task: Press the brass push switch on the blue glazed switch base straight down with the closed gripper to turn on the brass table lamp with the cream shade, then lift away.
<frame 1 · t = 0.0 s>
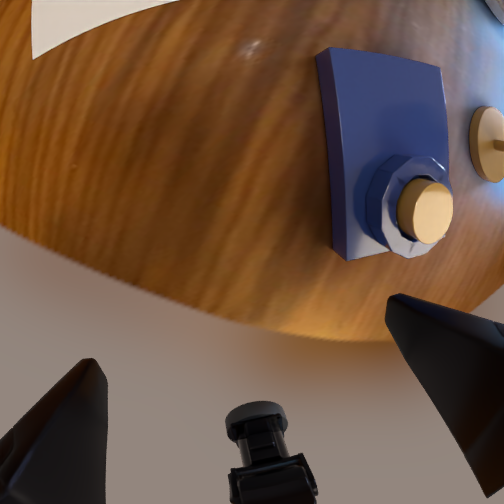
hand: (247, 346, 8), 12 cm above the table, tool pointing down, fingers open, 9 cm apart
lamp switch: (425, 210, 16), point 4 cm above the table, slide at 0.1 cm
switch base: (386, 150, 19), on the table
table lamp: (488, 143, 20), on the table
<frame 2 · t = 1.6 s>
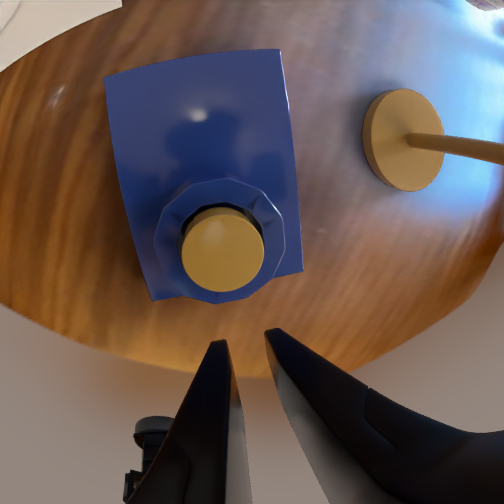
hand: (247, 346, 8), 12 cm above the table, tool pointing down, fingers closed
lamp switch: (221, 249, 15), point 4 cm above the table, slide at 0.1 cm
switch base: (206, 171, 17), on the table
table lamp: (403, 139, 19), on the table
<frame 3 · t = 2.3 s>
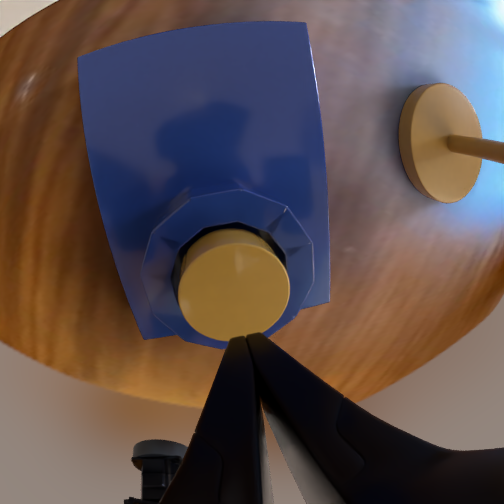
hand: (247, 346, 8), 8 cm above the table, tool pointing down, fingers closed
lamp switch: (232, 285, 11), point 4 cm above the table, slide at 0.1 cm
switch base: (210, 177, 13), on the table
table lamp: (440, 141, 15), on the table
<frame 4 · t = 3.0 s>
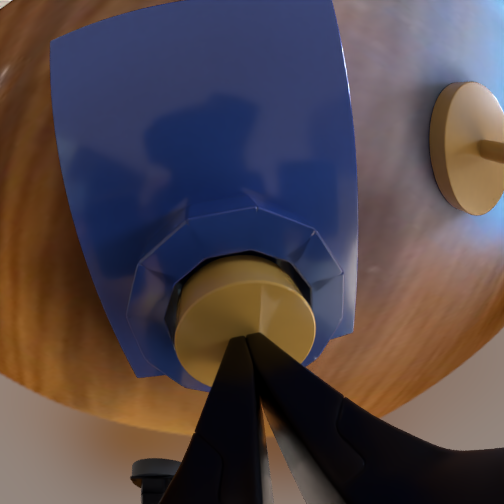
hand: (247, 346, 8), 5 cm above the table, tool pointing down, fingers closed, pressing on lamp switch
lamp switch: (242, 326, 8), point 4 cm above the table, slide at -0.1 cm, touching gripper
switch base: (213, 186, 11), on the table
table lamp: (470, 146, 12), on the table
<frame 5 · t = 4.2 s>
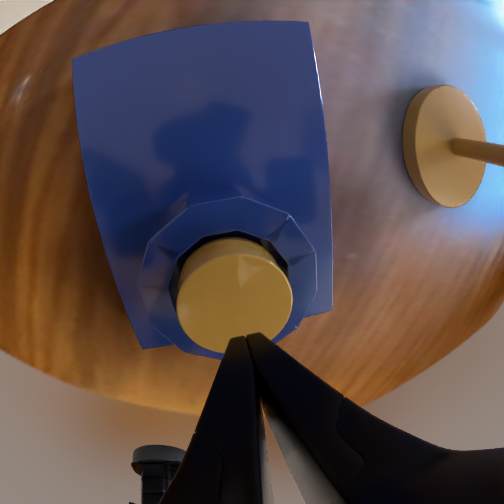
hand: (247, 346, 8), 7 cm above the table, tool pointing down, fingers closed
lamp switch: (232, 296, 10), point 4 cm above the table, slide at 0.1 cm
switch base: (209, 182, 13), on the table
table lamp: (444, 145, 14), on the table
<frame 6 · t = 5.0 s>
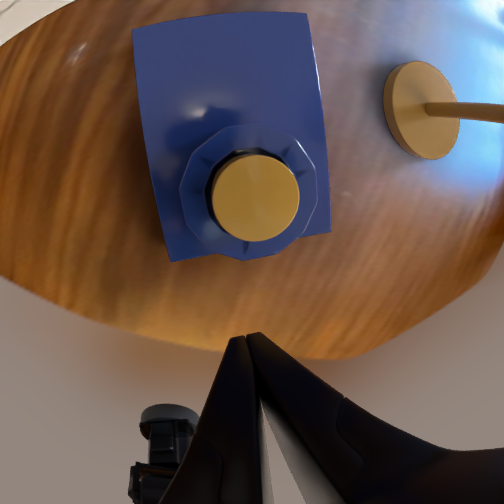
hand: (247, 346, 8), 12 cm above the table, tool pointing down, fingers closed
lamp switch: (253, 196, 13), point 4 cm above the table, slide at 0.1 cm
switch base: (232, 127, 16), on the table
table lamp: (420, 109, 18), on the table
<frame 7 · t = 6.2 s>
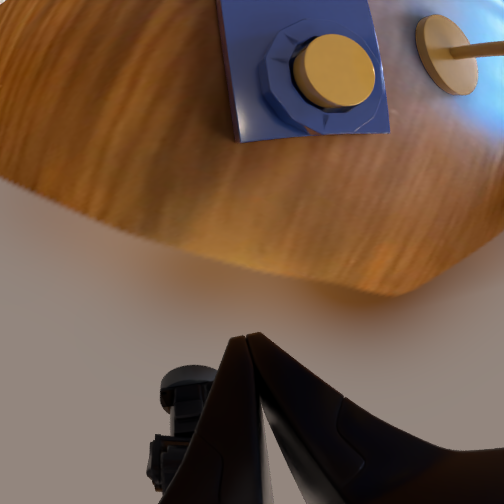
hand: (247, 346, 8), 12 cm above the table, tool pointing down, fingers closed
lamp switch: (334, 71, 12), point 4 cm above the table, slide at 0.1 cm
switch base: (296, 38, 15), on the table
table lamp: (445, 55, 16), on the table
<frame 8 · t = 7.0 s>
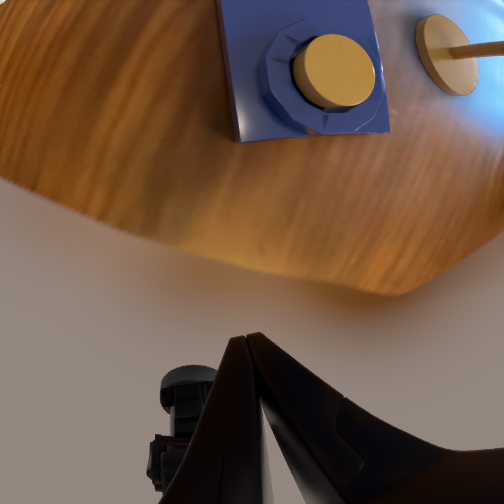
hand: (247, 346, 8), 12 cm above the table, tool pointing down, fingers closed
lamp switch: (334, 71, 12), point 4 cm above the table, slide at 0.1 cm
switch base: (296, 38, 15), on the table
table lamp: (445, 55, 16), on the table
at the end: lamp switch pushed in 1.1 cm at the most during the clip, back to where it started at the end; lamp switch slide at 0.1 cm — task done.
